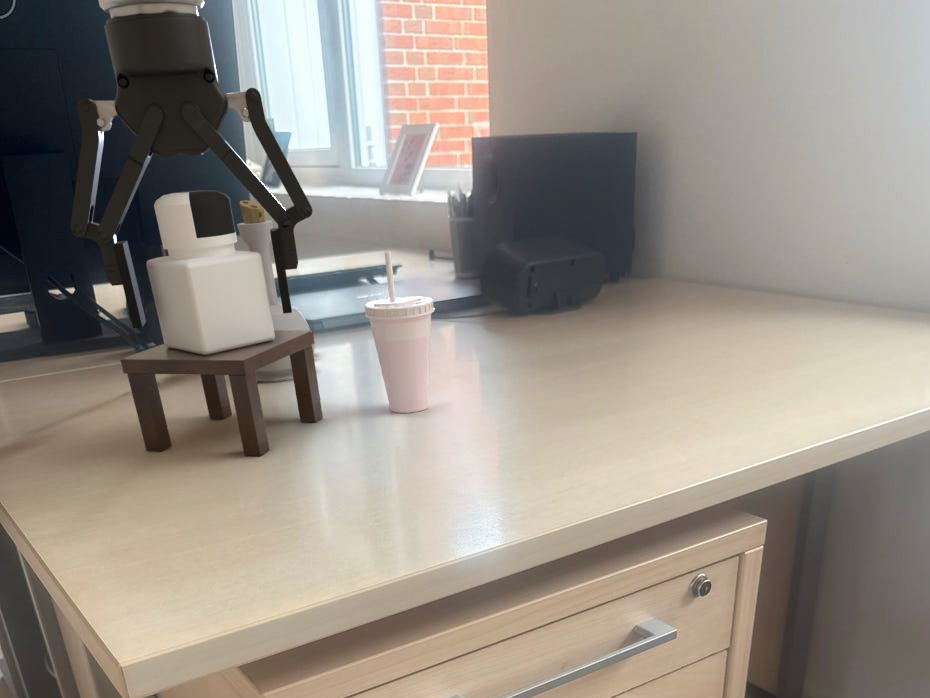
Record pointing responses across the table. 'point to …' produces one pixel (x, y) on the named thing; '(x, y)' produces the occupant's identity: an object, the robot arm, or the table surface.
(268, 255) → the potion bottle
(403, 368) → the smoothie
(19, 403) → the table surface
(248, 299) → the medicine bottle
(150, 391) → the stand
